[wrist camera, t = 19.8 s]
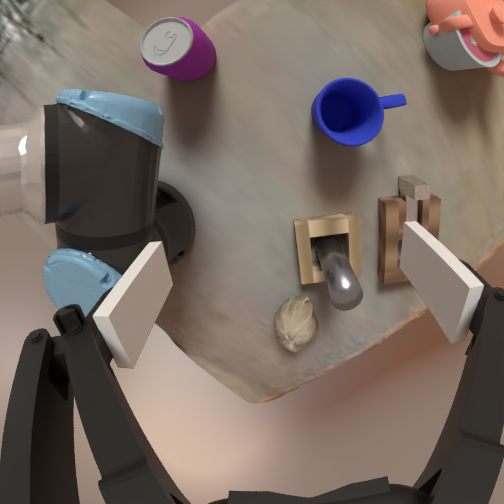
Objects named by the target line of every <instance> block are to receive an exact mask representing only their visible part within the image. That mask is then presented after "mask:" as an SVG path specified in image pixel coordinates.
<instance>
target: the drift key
mask: <svg viewBox="0 0 504 504" xmlns="http://www.w3.org/2000/svg"><path fill="white" fill-rule="evenodd" d="M399 190H400V198H401V199H403V200H404V201H406V222H412V221H416V222H417V219H418V200H426V199H430V184H428V183H426V182H424V181H422V180H420V179H418V178H417V177H415V176H413V175H412V176H399Z"/></svg>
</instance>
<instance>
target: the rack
mask: <svg viewBox="0 0 504 504" xmlns="http://www.w3.org/2000/svg"><path fill="white" fill-rule="evenodd" d="M294 227H295V235H296V243H297V252H298V261H299V270H300V278H301V284H309V283H317V282H324V281H325V278H324V275H323V271H322V268H321V265H320V262H317V263H312V255H311V244H310V237H318V236H325V235H333V234H341V233H345V255H346V257H347V259H348V261H349V263H350V265H351V267H352V269H353V271H354V273H355V276H356V277H360V276H361V218H360V217H359V216H358V215H357V213H356V212H353V213H345V214H336V215H328V216H320V217H312V218H304V219H296V220H294Z"/></svg>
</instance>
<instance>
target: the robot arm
mask: <svg viewBox="0 0 504 504" xmlns="http://www.w3.org/2000/svg"><path fill="white" fill-rule="evenodd" d="M56 102H57V104H54V105H41V106H39V107H38V108H37V109H36V110H35V111H34V112H33V113H32V114H31V115H30V116H29V117H28V119H26V120H25V121H24V122H22V123H17V124H10V125H3V126H0V217H2V216H7V215H12V214H17V213H22V212H24V213H26V214H29V215H30V216H31V217H32V218H33V219H35V220H36V221H37V222H38V223H39V224H41V225H43V224H48V223H53V222H55V225H56V237H57V250H55V251H53V252H52V253H51V254H50V255H49V256H48V259H47V261H46V263H45V264H44V267H43V281H44V285H45V288H46V291H47V293H48V295H49V297H50V298H51V300H52V301H53V303H54V304H55V306H56V307H57V308H58V309H59V310H58V311H57V312H56V313H55V315H54V317H53V321H54V323H55V324H56V326H57V328H58V330H59V332H60V334H61V336H55V337H51V336H50V334H49V333H48V331H47V330H46V329H43V328H42V329H37V330H34V331H33V332H31V333H30V334H29V335H28V336H27V337H26V340H25V342H24V345H23V348H22V351H21V355H20V358H19V362H18V365H17V369H16V373H15V377H14V381H13V385H12V389H11V394H10V398H9V403H8V408H7V414H6V420H5V426H4V433H3V441H2V448H1V459H0V504H80V502H79V496H78V488H77V479H76V467H75V453H74V430H73V429H74V427H73V426H74V425H73V408H74V397H75V401H76V404H77V408H78V411H79V415H80V418H81V421H82V425H83V428H84V431H85V434H86V436H87V439H88V442H89V445H90V448H91V451H92V453H93V456H94V459H95V461H96V464H97V466H98V469H99V471H100V473H101V476H102V479H101V480H99V482H98V486H99V489H100V492H101V494H102V496H103V498H104V501H105V503H106V504H191V503H190V502H189V501H188V500H187V499H186V497H184V495H183V494H182V493H181V491H180V490H179V489H178V487H177V486H176V484H175V483H174V481H173V480H172V479H171V477H170V476H169V474H168V473H167V471H166V470H165V468H164V466H163V465H162V463H161V461H160V460H159V458H158V457H157V455H156V453H155V452H154V450H153V448H152V447H151V445H150V443H149V441H148V440H147V438H146V436H145V434H144V433H143V431H142V429H141V427H140V425H139V423H138V422H137V420H136V418H135V416H134V414H133V412H132V410H131V408H130V406H129V404H128V402H127V400H126V398H125V396H124V394H123V392H122V389H121V387H120V385H119V383H118V381H117V379H116V376H115V374H114V372H113V369H112V368H111V366H110V362H111V360H112V358H113V359H114V360H115V362H116V364H117V366H118V367H121V368H131V369H134V366H135V364H136V362H137V360H138V357H139V355H140V353H141V351H142V348H143V346H144V344H145V342H146V340H147V338H148V336H149V333H150V331H151V329H152V327H153V325H154V323H155V321H156V319H157V317H158V315H159V312H160V310H161V308H162V306H163V304H164V302H165V300H166V298H167V296H168V294H169V292H170V290H171V288H172V286H173V282H172V279H171V275H170V271H169V267H171V266H173V265H174V264H176V263H177V262H178V261H180V260H181V259H182V258H183V256H184V255H185V254H186V252H187V251H188V249H189V247H190V245H191V243H192V241H193V237H194V232H195V223H194V217H193V213H192V210H191V208H190V206H189V204H188V202H187V201H186V199H185V198H184V197H183V196H182V195H181V194H180V193H179V192H178V191H177V190H176V189H175V188H173V187H172V186H170V185H168V184H166V183H164V182H161V181H158V174H159V165H160V157H161V149H163V146H164V145H163V143H162V135H163V125H164V114H163V111H162V109H161V108H160V107H159V106H158V105H157V104H155V103H154V102H151V101H148V100H144V99H140V98H136V97H132V96H127V95H121V94H115V93H109V92H101V91H89V90H79V89H65V90H62V91H61V92H60V93H59V95H58V97H57V98H56ZM399 267H400V269H401V270H402V271H403V273H404V274H405V275H406V277H407V278H408V279H409V281H410V282H411V284H412V285H413V286H414V288H415V289H416V291H417V292H418V294H419V295H420V297H421V298H422V299H423V301H424V302H425V304H426V305H427V307H428V308H429V310H430V311H431V313H432V314H433V316H434V317H435V319H436V320H437V322H438V324H439V325H440V327H441V328H442V330H443V331H444V333H445V335H446V336H447V338H448V339H449V341H450V343H451V344H453V343H457V342H461V341H464V340H465V339H466V336H467V333H468V331H469V329H470V330H471V332H472V333H473V337H472V339H471V342H470V344H469V346H468V349H467V351H466V353H465V355H467V359H466V362H465V366H464V369H463V373H462V376H461V380H460V383H459V387H458V389H457V392H456V396H455V398H454V401H453V404H452V407H451V410H450V413H449V415H448V418H447V420H446V423H445V425H444V428H443V430H442V433H441V435H440V437H439V440H438V442H437V444H436V447H435V449H434V451H433V453H432V455H431V457H430V459H429V462H428V463H427V465H426V468H425V469H424V471H423V473H422V474H421V476H420V477H419V479H418V480H417V481H416V483H415V484H414V486H413V487H410V486H405V485H400V484H389V482H388V477H387V476H386V477H382V478H377V479H373V480H368V481H363V482H358V483H352V484H349V485H346V486H344V487H341V488H338V489H336V490H333V491H330V492H327V493H324V494H321V495H319V496H316V497H312V498H306V497H298V496H291V495H285V494H280V493H274V492H269V491H263V492H262V491H261V492H257V491H254V492H253V491H229V497H228V498H227V499H221V500H218V501H214V502H211V503H208V504H488V503H489V500H490V498H491V495H492V492H493V489H494V487H495V484H496V481H497V478H498V475H499V472H500V469H501V465H502V462H503V458H504V445H502V444H500V438H501V434H502V430H503V425H504V289H502V288H498V287H496V288H492V287H491V286H490V285H489V284H488V283H487V282H486V281H485V280H484V279H483V278H482V277H481V276H480V275H478V273H477V272H476V271H474V269H473V268H472V267H471V266H470V265H469V264H468V263H466V262H464V261H462V260H460V259H457V258H456V257H455V256H454V255H453V254H452V253H451V252H450V251H449V250H448V249H447V248H446V247H445V246H443V245H442V244H441V243H440V242H439V241H438V240H437V239H436V238H435V237H434V236H432V235H431V234H430V233H429V232H428V231H427V230H426V229H424V228H423V227H422V226H421V225H420V224H419V223H417V222H416V221H412V222H404V230H403V240H402V249H401V258H400V266H399Z"/></svg>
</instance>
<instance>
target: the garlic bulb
mask: <svg viewBox="0 0 504 504" xmlns="http://www.w3.org/2000/svg"><path fill="white" fill-rule="evenodd" d="M314 314H315V313H314V311H313V303H312V301H311V300H309V297H304V296H292V297H291V298H290V299H288V300H287V301H286V302H285V303H284V304H282V306H281V307H280V308H279V309H278V311H277V312H276V314H275V318H274V325H275V330H276V333H277V335H278V336H279V337H278V338H279V342H280V344H281V345H282V346H283V347H284V348H285V349H287V350H289V351H292V352H298V351H299V350H300V349H301V348H302V347H303V346H304V345H306V344H308V343H309V341H310V340H312V339H313V338H314V337H315V336H316V334H317V332H318V331H319V327H318V326H319V325H318V322H317V318H316V317H315V315H314Z"/></svg>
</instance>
